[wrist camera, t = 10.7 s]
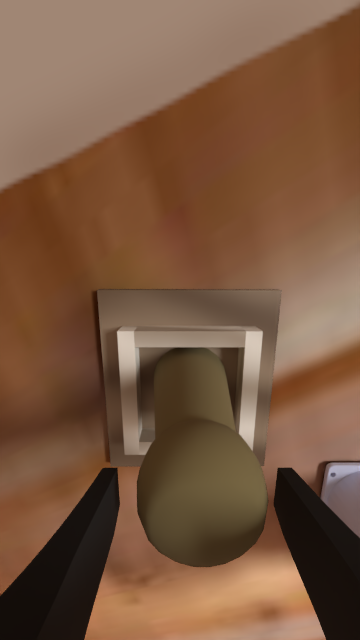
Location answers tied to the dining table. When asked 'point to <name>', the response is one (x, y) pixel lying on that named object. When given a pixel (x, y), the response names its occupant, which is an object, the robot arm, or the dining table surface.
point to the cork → (198, 466)
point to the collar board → (185, 331)
